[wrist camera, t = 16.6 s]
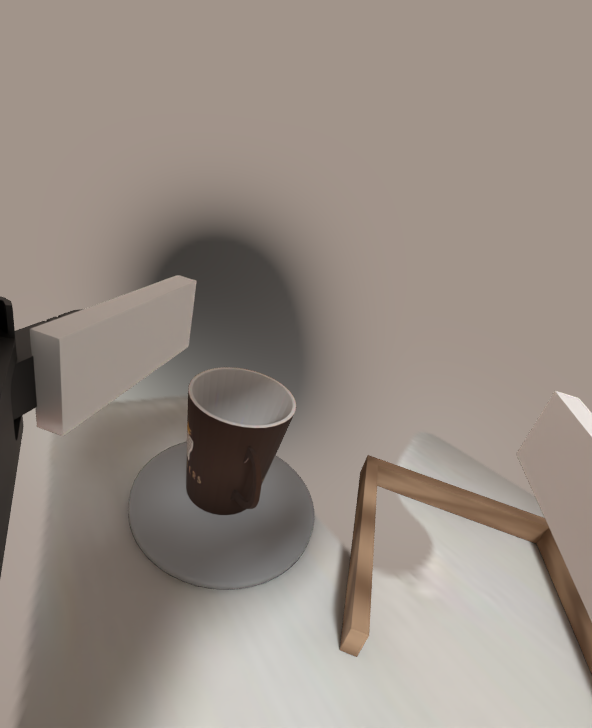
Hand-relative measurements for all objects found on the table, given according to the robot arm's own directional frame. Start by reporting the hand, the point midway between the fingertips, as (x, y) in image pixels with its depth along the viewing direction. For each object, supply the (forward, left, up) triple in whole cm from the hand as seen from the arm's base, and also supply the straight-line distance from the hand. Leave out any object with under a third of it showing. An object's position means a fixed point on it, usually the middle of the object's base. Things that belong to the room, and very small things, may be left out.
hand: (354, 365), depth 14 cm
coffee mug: (+13, -3, -21) cm, 25 cm away
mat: (+13, -4, -22) cm, 26 cm away
